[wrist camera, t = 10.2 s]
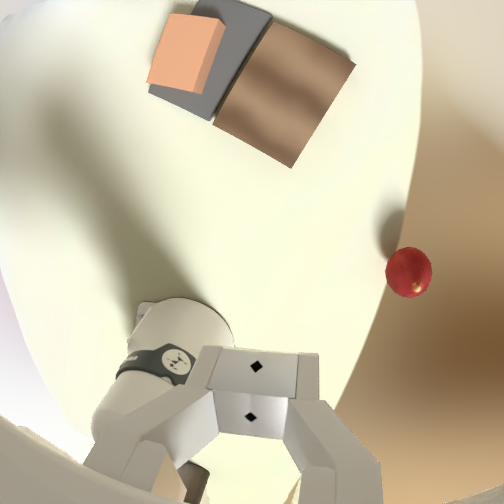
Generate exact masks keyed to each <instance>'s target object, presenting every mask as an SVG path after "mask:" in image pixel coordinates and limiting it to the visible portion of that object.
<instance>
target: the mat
mask: <svg viewBox="0 0 504 504" xmlns="http://www.w3.org/2000/svg"><path fill="white" fill-rule="evenodd" d="M191 15H194V16H202V17H209V18H216V19H219V20H220V21H221V22H222V23H223V24H224V25H225V26H226V28H225V31H224V33H223V36H222V39H221V41H220V44H219V47H218V49H217V52H216V55H215V57H214V60H213V63H212V66H211V69H210V72H209V74H208V77H207V80H206V83H205V86H204V89H203V92H202V94H198V93H194V92H189V91H185V90H181V89H176V88H171V87H166V86H161V85H156V84H152V85H151V87H150V89H149V91H148V93H151V94H153V95H155V96H157V97H160V98H162V99H164V100H166V101H168V102H170V103H173V104H175V105H177V106H179V107H181V108H183V109H185V110H187V111H189V112H191V113H193V114H195V115H197V116H199V117H201V118H203V119H205V120H207V121H210V120H211V118H212V117H213V115H214V113H215V111H216V109H217V107H218V106H219V104H220V102H221V100H222V98H223V96H224V95H225V93H226V91H227V89H228V88H229V86H230V84H231V82H232V81H233V79H234V77H235V76H236V74H237V72H238V70H239V69H240V67H241V65H242V64H243V62H244V60H245V59H246V57H247V56H248V54H249V52H250V51H251V49H252V47H253V46H254V44H255V43H256V41H257V40H258V38H259V36H260V35H261V33H262V32H263V30H264V29H265V27H266V26H267V24H268V23H269V21H270V20H271V18H272V15H270V14H268V13H265V12H263V11H260V10H258V9H255V8H253V7H250V6H247V5H244V4H242V3H239V2H236V1H233V0H200V1H199V2H198V4H197V5H196V7H195V8H194V10H193V12H192V13H191Z"/></svg>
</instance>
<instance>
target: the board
mask: <svg viewBox="0 0 504 504" xmlns="http://www.w3.org/2000/svg"><path fill="white" fill-rule="evenodd" d="M355 66H356V64H355V63H353V62H352V61H350V60H348V59H347V58H345V57H343V56H342V55H340V54H338V53H336V52H335V51H333V50H331V49H329V48H327V47H326V46H324V45H322V44H320V43H318V42H316V41H314V40H312V39H310V38H308V37H306V36H304V35H302V34H300V33H298V32H296V31H294V30H292V29H290V28H288V27H286V26H283V25H281V24H279V23H277V22H273V23H272V25H271V26H270V28H269V29H268V31H267V32H266V34H265V35H264V37H263V38H262V40H261V42H260V43H259V45H258V46H257V48H256V49H255V51H254V53H253V54H252V56H251V57H250V59H249V61H248V62H247V64H246V66H245V67H244V69H243V71H242V72H241V74H240V76H239V77H238V79H237V81H236V83H235V84H234V86H233V88H232V90H231V91H230V93H229V95H228V97H227V98H226V100H225V102H224V104H223V106H222V107H221V109H220V111H219V113H218V115H217V117H216V118H215V120H214V122H213V124H212V125H214V126H216V127H218V128H220V129H222V130H223V131H225V132H227V133H229V134H231V135H233V136H235V137H236V138H238V139H240V140H242V141H244V142H246V143H247V144H249V145H251V146H253V147H255V148H256V149H258V150H260V151H262V152H263V153H265V154H267V155H269V156H270V157H272V158H274V159H275V160H277V161H279V162H281V163H282V164H284V165H286V166H287V167H289V168H292V167H293V165H294V163H295V162H296V160H297V158H298V157H299V155H300V154H301V152H302V150H303V149H304V147H305V146H306V144H307V142H308V141H309V139H310V137H311V136H312V134H313V133H314V131H315V129H316V128H317V126H318V125H319V123H320V121H321V120H322V118H323V117H324V115H325V113H326V112H327V110H328V109H329V107H330V105H331V104H332V102H333V101H334V99H335V97H336V96H337V94H338V93H339V91H340V89H341V88H342V86H343V85H344V83H345V82H346V80H347V78H348V77H349V75H350V74H351V72H352V70H353V69H354V67H355Z"/></svg>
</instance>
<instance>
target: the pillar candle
mask: <svg viewBox="0 0 504 504" xmlns="http://www.w3.org/2000/svg"><path fill="white" fill-rule="evenodd" d="M177 472H178V474H179V476H180V478H181V480H182V482H183V484H184V485H185V487H186V489H187V492H186V495H185V498H184V501H183V502H185V503H189V504H199V503H200V501H201V498H202V495H203V492H204V489H205V486H206V484H207V480H208V477H209V475H210V473H209V472H208V471H207V470H206V469H204V468H202V467H200V466H197V465H195V464H191V463H184V464H183V465H182V466H181V467H180V468H178V469H177Z"/></svg>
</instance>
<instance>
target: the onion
mask: <svg viewBox="0 0 504 504" xmlns="http://www.w3.org/2000/svg"><path fill="white" fill-rule="evenodd" d="M385 274H386V279H387V283H388V284H389V286H390V287H391V288H392V290H393V291H394V292H395V293H397V294H398V295H400V296H402V297H408V298H413V297H416V296H419V295H420V294H422V293H423V292H424V291H426V289H427V287H428V285H429V283H430V281H431V277H432V268H431V263H430V261H429V259H428V258H427V256H426V255H425V254H424V253H423V252H422V251H420V250H418V249H416V248H412V247H406V248H403V249H399V250H398V251H397V252H395V253H394V254H393V255H392V257H391V258H390V259H389V261H388V263H387V266H386V270H385Z"/></svg>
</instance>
